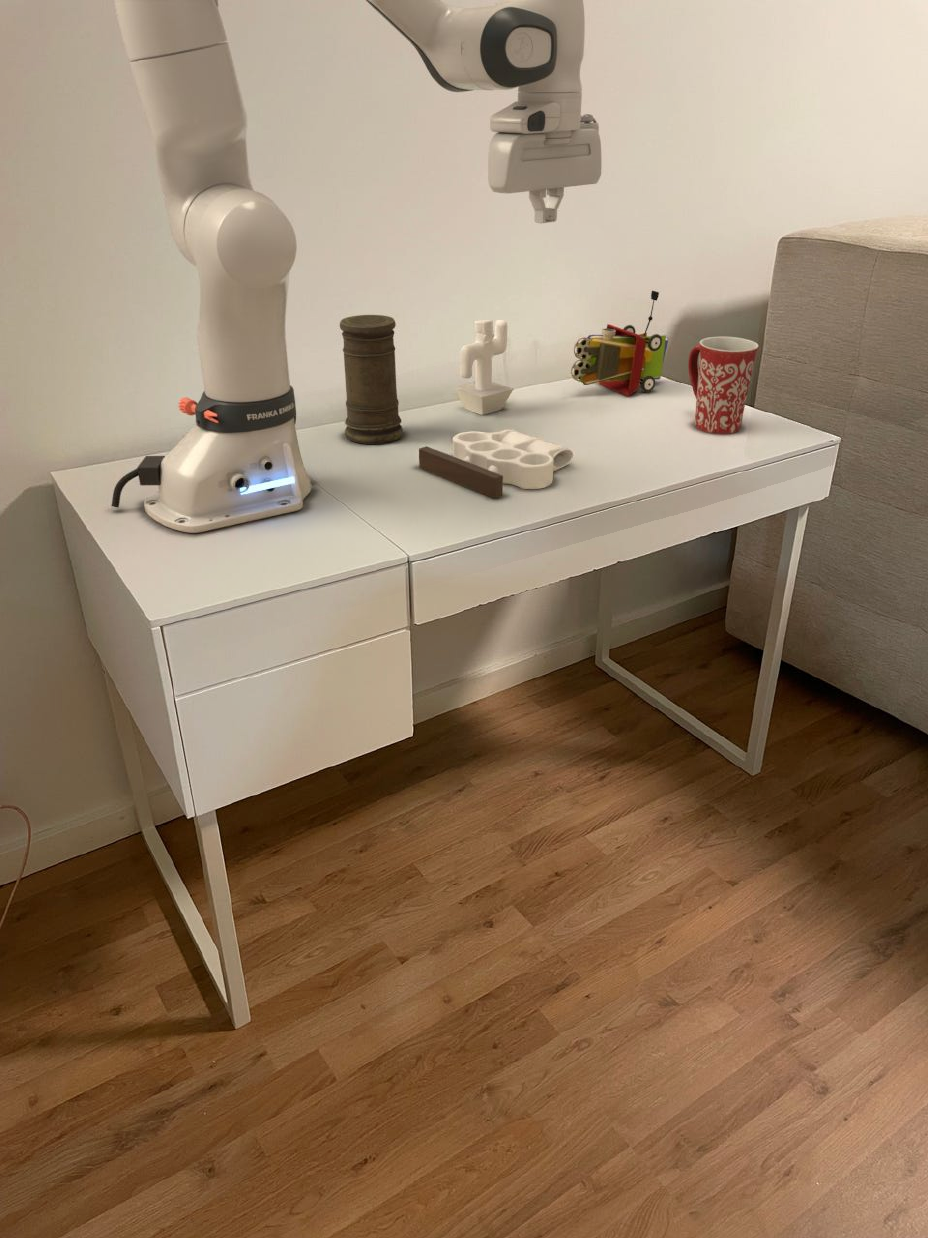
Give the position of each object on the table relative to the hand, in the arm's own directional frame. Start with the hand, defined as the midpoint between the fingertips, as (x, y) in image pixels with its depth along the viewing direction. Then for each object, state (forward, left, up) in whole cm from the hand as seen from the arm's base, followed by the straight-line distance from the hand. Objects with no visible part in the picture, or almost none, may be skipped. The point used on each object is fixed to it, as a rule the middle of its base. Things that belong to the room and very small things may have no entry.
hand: (545, 222), depth 142 cm
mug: (+22, -18, -31) cm, 42 cm away
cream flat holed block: (-16, -10, -31) cm, 37 cm away
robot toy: (+26, +5, -31) cm, 41 cm away
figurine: (0, +13, -31) cm, 34 cm away
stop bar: (-25, -9, -31) cm, 41 cm away
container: (-22, +15, -31) cm, 41 cm away
